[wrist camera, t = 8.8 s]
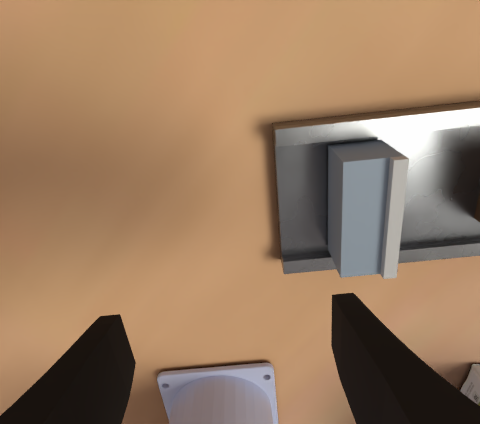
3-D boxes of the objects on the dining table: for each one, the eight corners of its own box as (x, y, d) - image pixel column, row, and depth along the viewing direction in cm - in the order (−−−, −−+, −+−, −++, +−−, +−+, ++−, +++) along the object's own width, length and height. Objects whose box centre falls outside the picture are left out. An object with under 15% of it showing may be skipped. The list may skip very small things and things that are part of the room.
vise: (577, 231, 20) (637, 265, 17) (280, 259, 21) (289, 297, 18) (629, 84, 17) (716, 95, 14) (272, 123, 18) (280, 141, 14)
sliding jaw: (373, 244, 19) (396, 277, 17) (327, 248, 20) (342, 282, 17) (381, 139, 17) (409, 158, 14) (328, 145, 17) (345, 165, 14)
